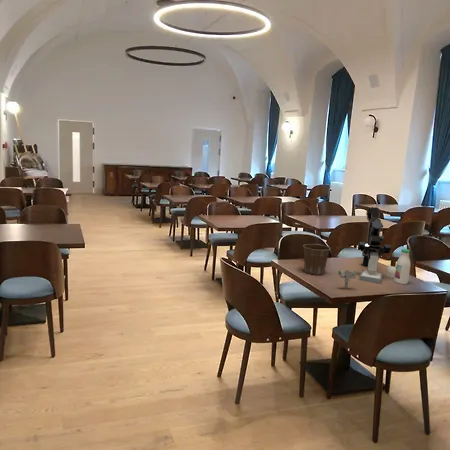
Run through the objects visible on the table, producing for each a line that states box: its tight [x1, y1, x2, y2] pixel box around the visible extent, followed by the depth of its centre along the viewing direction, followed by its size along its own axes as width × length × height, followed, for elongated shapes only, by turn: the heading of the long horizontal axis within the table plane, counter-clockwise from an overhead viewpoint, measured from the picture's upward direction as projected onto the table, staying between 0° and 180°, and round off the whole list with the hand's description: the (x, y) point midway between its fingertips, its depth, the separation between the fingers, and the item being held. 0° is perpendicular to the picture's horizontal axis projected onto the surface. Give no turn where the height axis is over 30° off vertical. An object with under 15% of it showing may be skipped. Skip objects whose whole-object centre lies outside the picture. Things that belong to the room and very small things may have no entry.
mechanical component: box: [337, 270, 358, 290], centre depth 240 cm, size 3×10×10 cm, turn 95°
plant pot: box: [302, 243, 331, 276], centre depth 268 cm, size 16×16×16 cm
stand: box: [358, 269, 384, 285], centre depth 264 cm, size 16×12×3 cm
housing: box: [367, 252, 379, 272], centre depth 262 cm, size 6×4×10 cm
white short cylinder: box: [385, 265, 396, 279], centre depth 271 cm, size 6×6×6 cm
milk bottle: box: [393, 248, 411, 285], centre depth 259 cm, size 8×8×20 cm
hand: (373, 259), depth 261 cm, fingers closed on housing, 4 cm apart
